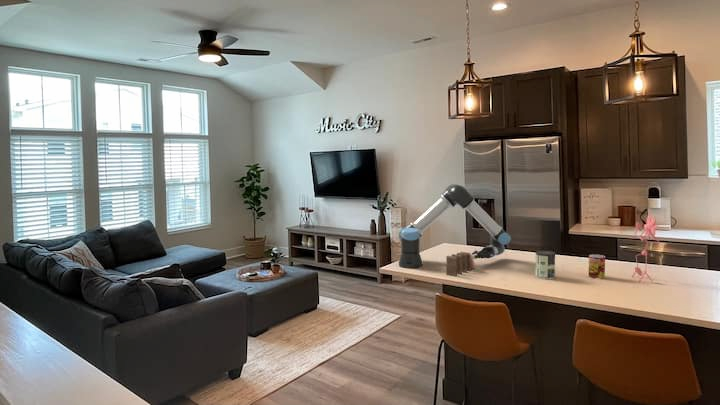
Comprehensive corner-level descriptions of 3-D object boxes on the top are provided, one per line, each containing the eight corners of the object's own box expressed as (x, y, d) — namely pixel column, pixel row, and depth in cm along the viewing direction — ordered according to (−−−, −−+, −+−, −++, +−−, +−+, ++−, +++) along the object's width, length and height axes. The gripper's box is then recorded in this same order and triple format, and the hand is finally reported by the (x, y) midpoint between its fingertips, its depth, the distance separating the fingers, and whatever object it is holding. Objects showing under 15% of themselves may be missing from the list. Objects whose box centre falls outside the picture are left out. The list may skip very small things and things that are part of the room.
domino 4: (470, 271, 256) (468, 253, 254) (461, 269, 260) (459, 252, 258) (471, 270, 257) (470, 252, 255) (462, 268, 261) (461, 251, 259)
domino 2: (460, 274, 248) (460, 256, 247) (451, 272, 253) (451, 254, 252) (461, 274, 249) (462, 255, 249) (453, 272, 254) (453, 254, 253)
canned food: (585, 276, 240) (585, 255, 239) (595, 274, 243) (596, 253, 242) (597, 279, 233) (598, 257, 232) (607, 278, 236) (608, 256, 235)
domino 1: (455, 276, 244) (455, 257, 244) (446, 274, 249) (446, 256, 248) (456, 275, 246) (456, 257, 245) (448, 274, 250) (448, 255, 249)
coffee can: (552, 275, 244) (552, 250, 243) (556, 279, 234) (557, 254, 233) (533, 274, 246) (533, 250, 245) (537, 279, 236) (537, 253, 235)
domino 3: (465, 272, 252) (465, 254, 251) (456, 271, 256) (456, 253, 256) (466, 272, 253) (466, 254, 252) (458, 270, 258) (458, 252, 257)
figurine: (644, 285, 219) (648, 218, 216) (623, 273, 244) (627, 212, 241) (677, 287, 216) (682, 219, 213) (653, 275, 241) (658, 213, 238)
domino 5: (474, 269, 260) (470, 255, 255) (466, 267, 264) (461, 254, 260) (475, 267, 261) (471, 253, 256) (467, 266, 265) (462, 252, 261)
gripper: (498, 258, 274) (480, 265, 257) (480, 256, 283) (461, 262, 266) (498, 247, 273) (480, 253, 256) (480, 244, 282) (461, 250, 265)
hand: (471, 257), depth 261 cm, fingers closed
